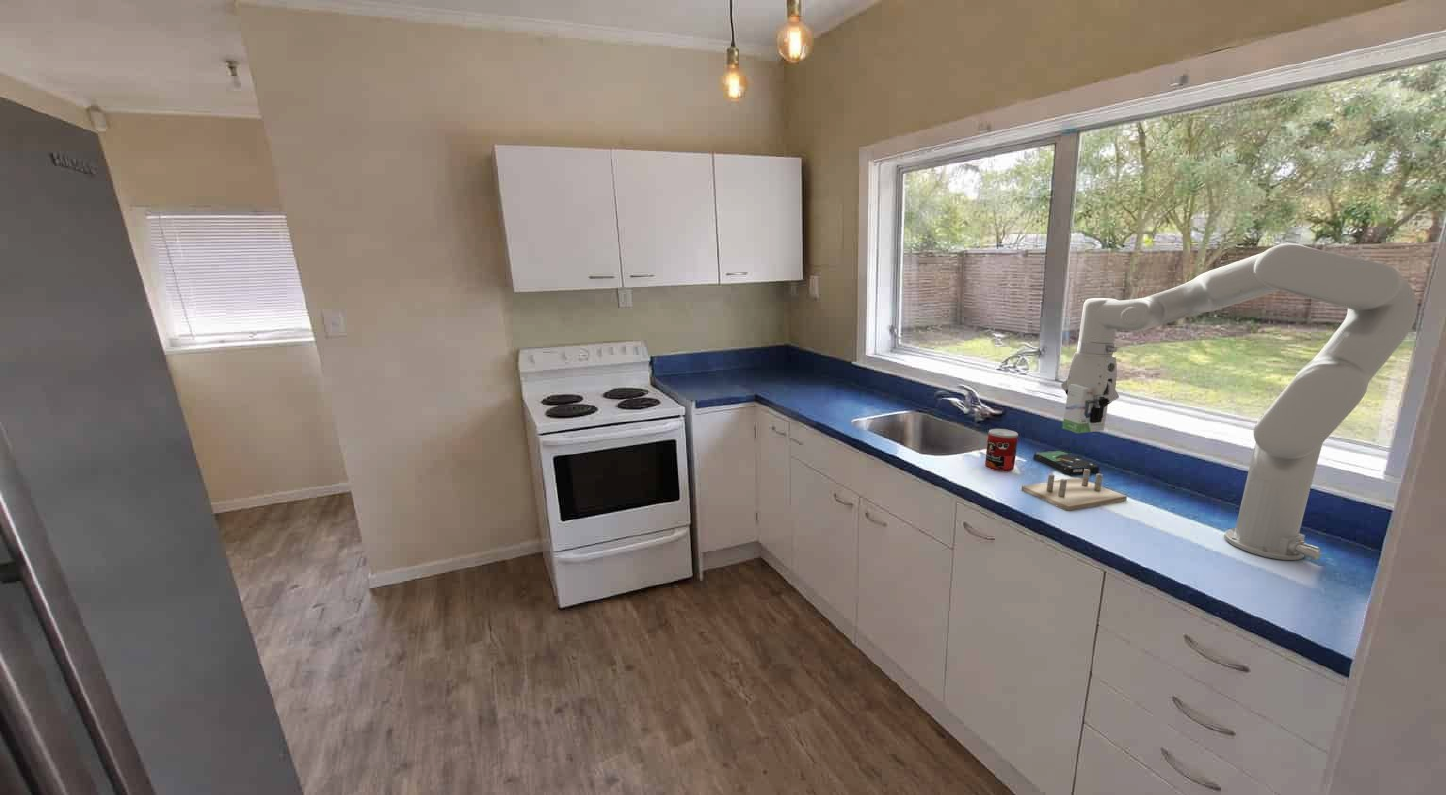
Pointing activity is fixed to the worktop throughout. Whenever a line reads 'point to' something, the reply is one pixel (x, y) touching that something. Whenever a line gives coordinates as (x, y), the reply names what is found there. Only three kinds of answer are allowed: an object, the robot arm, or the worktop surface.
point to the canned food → (1001, 449)
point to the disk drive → (1065, 462)
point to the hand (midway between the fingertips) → (1084, 418)
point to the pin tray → (1074, 492)
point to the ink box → (1081, 410)
